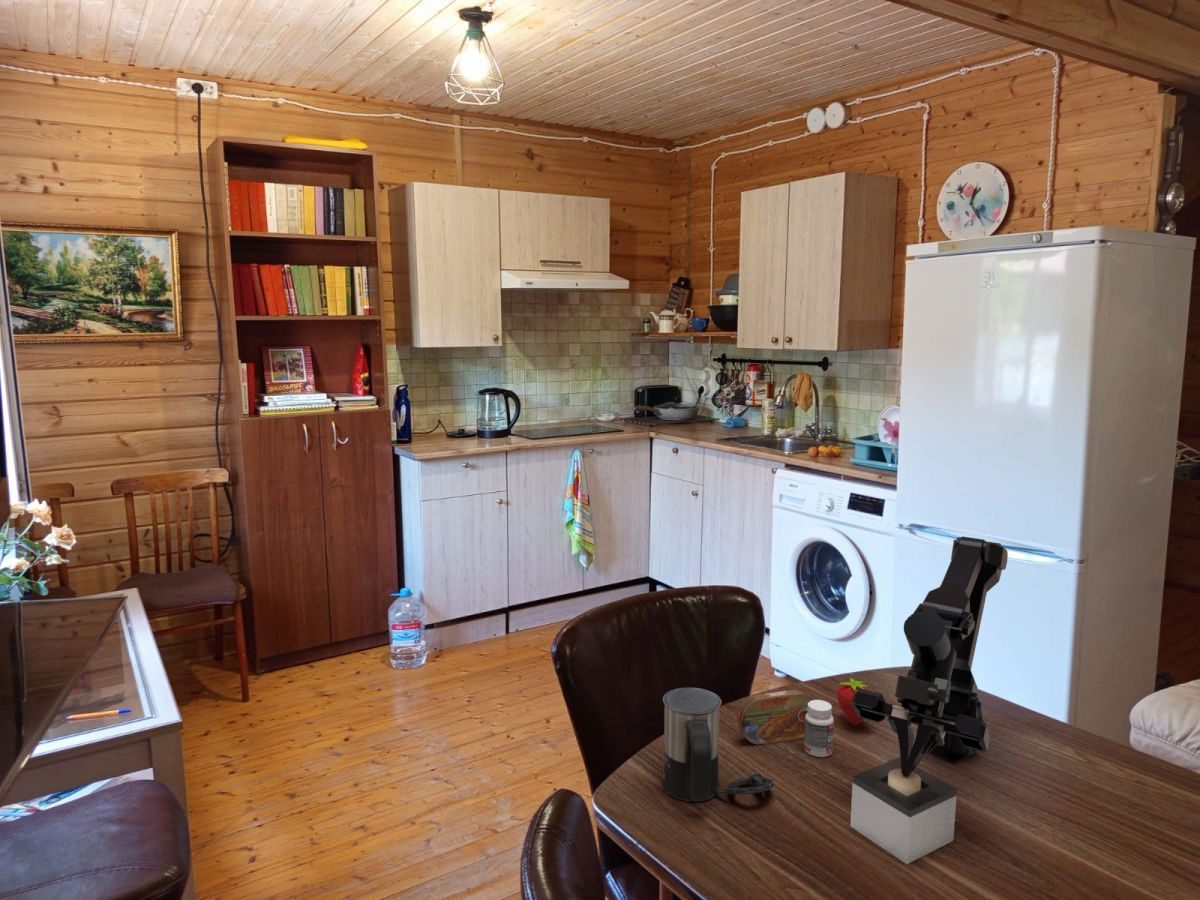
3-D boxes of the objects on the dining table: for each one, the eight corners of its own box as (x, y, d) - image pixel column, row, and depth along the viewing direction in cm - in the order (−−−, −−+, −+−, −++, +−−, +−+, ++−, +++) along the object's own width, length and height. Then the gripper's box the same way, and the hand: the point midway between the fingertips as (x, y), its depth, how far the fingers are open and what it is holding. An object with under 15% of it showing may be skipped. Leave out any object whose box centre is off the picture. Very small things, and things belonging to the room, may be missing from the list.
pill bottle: (833, 759, 141) (835, 712, 140) (804, 756, 142) (806, 710, 141) (831, 745, 146) (833, 700, 144) (803, 742, 147) (805, 697, 145)
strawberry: (848, 737, 148) (851, 684, 147) (828, 717, 155) (830, 666, 154) (878, 733, 149) (881, 681, 148) (857, 714, 157) (859, 663, 155)
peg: (899, 812, 124) (902, 765, 122) (924, 827, 120) (927, 779, 119) (879, 821, 121) (881, 774, 120) (904, 837, 118) (907, 789, 116)
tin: (740, 747, 145) (742, 702, 144) (733, 739, 148) (734, 694, 147) (819, 737, 148) (821, 692, 147) (811, 728, 151) (813, 685, 150)
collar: (896, 805, 128) (898, 757, 126) (953, 840, 119) (957, 788, 118) (850, 826, 122) (852, 776, 121) (906, 864, 114) (910, 810, 113)
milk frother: (652, 777, 136) (652, 691, 133) (736, 758, 141) (738, 676, 139) (693, 826, 123) (694, 732, 120) (784, 803, 128) (787, 713, 126)
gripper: (858, 637, 126) (828, 735, 119) (991, 667, 116) (968, 776, 108) (872, 669, 134) (845, 762, 127) (998, 699, 123) (977, 803, 116)
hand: (904, 775), depth 119 cm, fingers closed, pressing on peg
